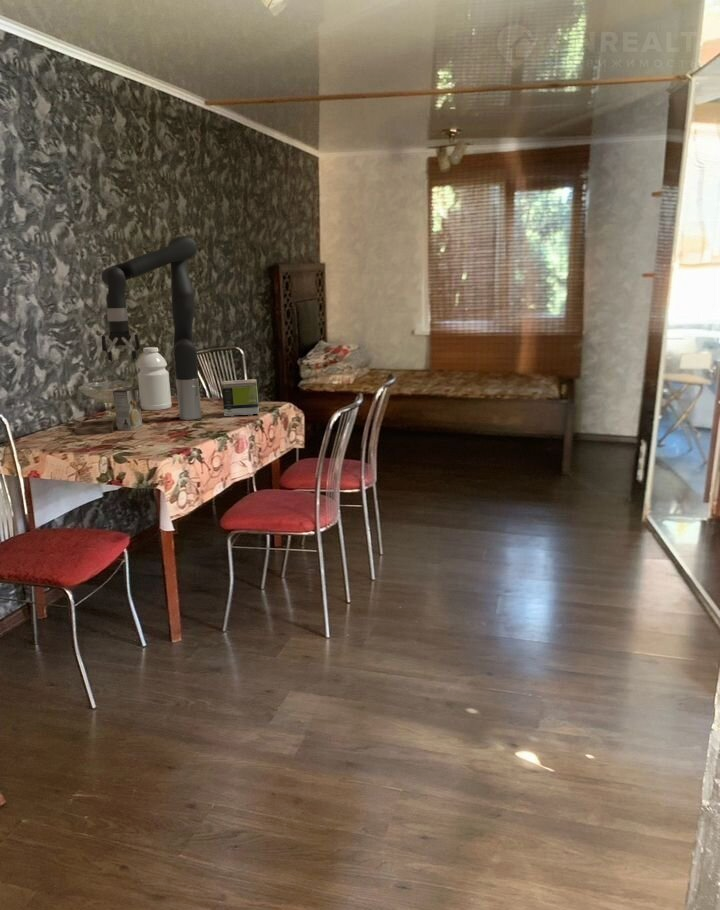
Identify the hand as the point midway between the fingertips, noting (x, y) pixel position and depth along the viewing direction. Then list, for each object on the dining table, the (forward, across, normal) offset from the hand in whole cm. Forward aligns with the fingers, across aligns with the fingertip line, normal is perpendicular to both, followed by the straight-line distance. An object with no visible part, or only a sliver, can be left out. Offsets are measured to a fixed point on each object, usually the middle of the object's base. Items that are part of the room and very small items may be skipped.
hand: (122, 360), depth 277 cm
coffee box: (+28, 0, 0) cm, 28 cm away
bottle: (+28, -8, -42) cm, 51 cm away
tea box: (+28, -46, -13) cm, 55 cm away
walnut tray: (+27, +13, +1) cm, 30 cm away
